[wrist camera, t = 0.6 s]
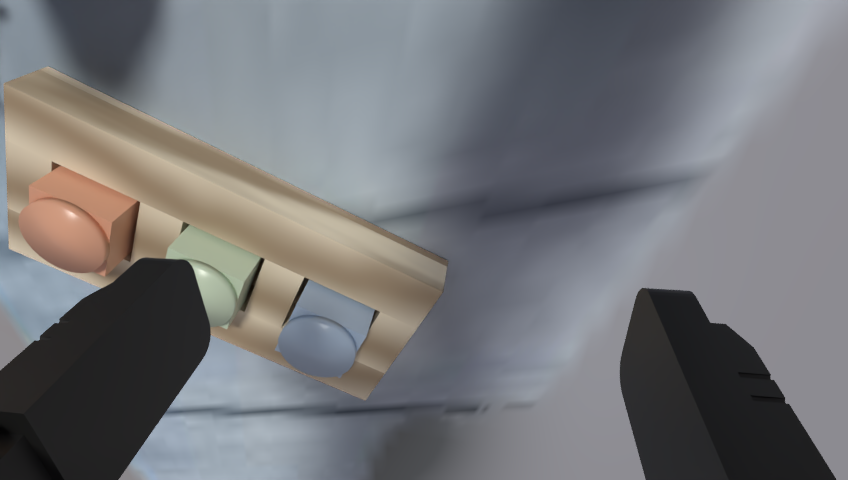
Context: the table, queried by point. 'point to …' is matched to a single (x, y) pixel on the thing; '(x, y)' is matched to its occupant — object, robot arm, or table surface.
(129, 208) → the terracotta button
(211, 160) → the button panel
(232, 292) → the sage button
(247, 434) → the table surface
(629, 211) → the table surface
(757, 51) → the table surface
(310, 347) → the slate button
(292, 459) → the table surface
